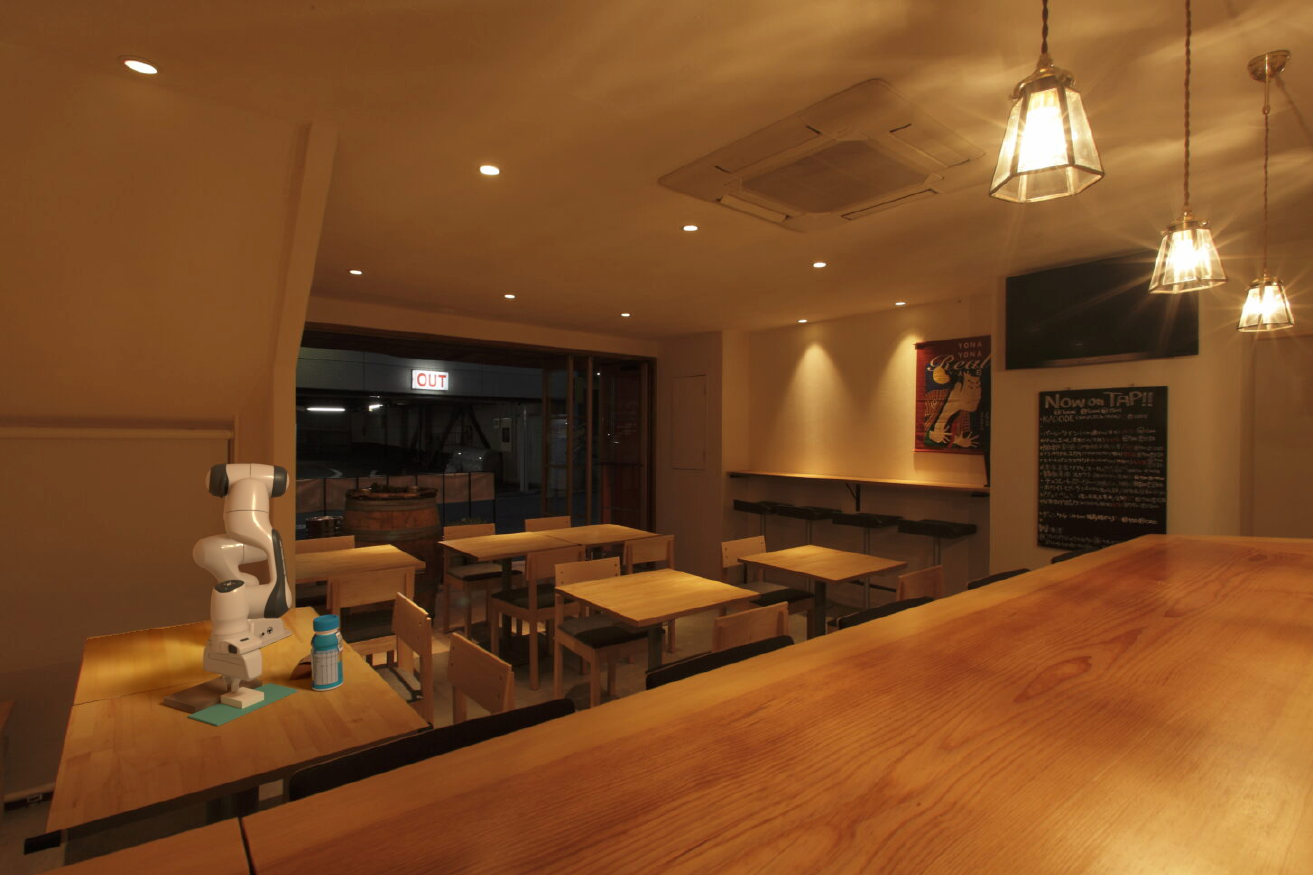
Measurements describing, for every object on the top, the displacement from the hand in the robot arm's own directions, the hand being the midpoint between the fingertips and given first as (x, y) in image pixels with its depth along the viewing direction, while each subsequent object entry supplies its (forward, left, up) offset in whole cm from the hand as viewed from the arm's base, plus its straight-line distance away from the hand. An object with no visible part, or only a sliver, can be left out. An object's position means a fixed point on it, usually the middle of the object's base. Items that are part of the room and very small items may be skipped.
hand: (232, 690), depth 174 cm
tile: (0, +4, -2) cm, 5 cm away
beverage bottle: (-17, +16, -3) cm, 24 cm away
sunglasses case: (-24, -1, -4) cm, 24 cm away
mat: (0, +5, -3) cm, 6 cm away
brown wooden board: (0, -8, -3) cm, 8 cm away
